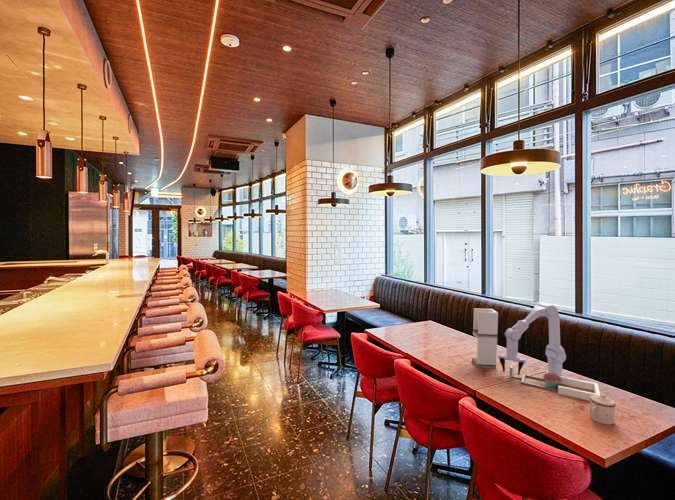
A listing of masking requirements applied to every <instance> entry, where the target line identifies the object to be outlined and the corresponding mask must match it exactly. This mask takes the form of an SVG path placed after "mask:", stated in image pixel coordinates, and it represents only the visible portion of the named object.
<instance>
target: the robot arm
mask: <svg viewBox="0 0 675 500" xmlns="http://www.w3.org/2000/svg"><path fill="white" fill-rule="evenodd" d="M539 317H546V318H548V319H547V320H548V340H549V341H548V344H547V345H546V347H545V351H544V352H545V356H546V358H547V370H546V373H550V371H549V365H550V368H551V373H554V374H557V375H558V376H563V377H564V375H563V363H564V362H565V361H566V360H567V354H566V351H565V348H563V346H562V345H561V327H560V325H561V323H560V322H561V319H560V313H559V312H558V307H556V306H555V305H553V304H552V305H551V304H548V303H545V302H541V301H540V302H537V303H536V304H535V305H534V306H533V309H532V311H531V312H530V313H529V314H527V316H525V318H524V319H520V320H517V322H516V323H515V324H514V325H513V326H512V327H511V328H510V327H509V328H507V329H506V331H505V332H504V336H505V337H506V353H505V354H499V353H497V359H498V360H499V362H500V365H501V368H502V372H503V373H505V371H506V361H512V362H517V363H518V365H517V366H518V367H517V368H518V369H517V376H520V373H521V370H522V368H523V367H524V364H525V365H526V364H527V359H525V358H522V357H518V353H519V340H520V339H521V337H522V335H523V334H524V332H525V331H526V330H527V329H529V327H530V326H529V325H530V324H531V323H532V322H533V321H535V320H536V319H538V318H539Z"/></svg>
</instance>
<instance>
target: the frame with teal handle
mask: <svg viewBox="0 0 675 500" xmlns="http://www.w3.org/2000/svg"><path fill="white" fill-rule="evenodd" d="M513 371H514V365H510V366H509V379H517V380H521V381H520V384H521V385H526V386H530V387H535V388H538V389H544V390H547V391H551V392H557V393H558V388H551V387H549V386H544V385H540V384H535V383H530V382H527V381H525V379H526V378H528V379H529V378H530V379H533V380H534V379H535V380H538V381H544V382H546V381H545V380H544V378H543V377H538V376H535V375H531V374H530V375H529V374H524V373H523V375H522V377H520V376H515V375H513V374H514V373H513ZM558 386H562V384H561V383H559V384H558Z"/></svg>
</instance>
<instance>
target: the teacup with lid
mask: <svg viewBox="0 0 675 500" xmlns="http://www.w3.org/2000/svg"><path fill="white" fill-rule="evenodd" d="M590 400H591V401H590V404H589V408H590V409H589V417H590V419H591V420H592V421H595V422H596V423H599V424H602V425H609V426H611V425H613V424H614V423H615V415H616V414H615V413H616V406H617V404H616V402H615V401H614V400H613V399H611V398H609V397H608V396H607V395H606V394H604V393H600V395H598V396H597V395H594V396H591V398H590Z"/></svg>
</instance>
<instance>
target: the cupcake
mask: <svg viewBox="0 0 675 500" xmlns="http://www.w3.org/2000/svg"><path fill="white" fill-rule="evenodd" d="M549 371H550V373H547V372H546V373H544V374H543V376H542V378H544V380H545V381H544V382H545V384H546V387H549V388H554V389H558V384H559V383H561V382H562V380H561V377H559V376H558V375H557V374H554V373H551V368H550V365H549Z"/></svg>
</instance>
